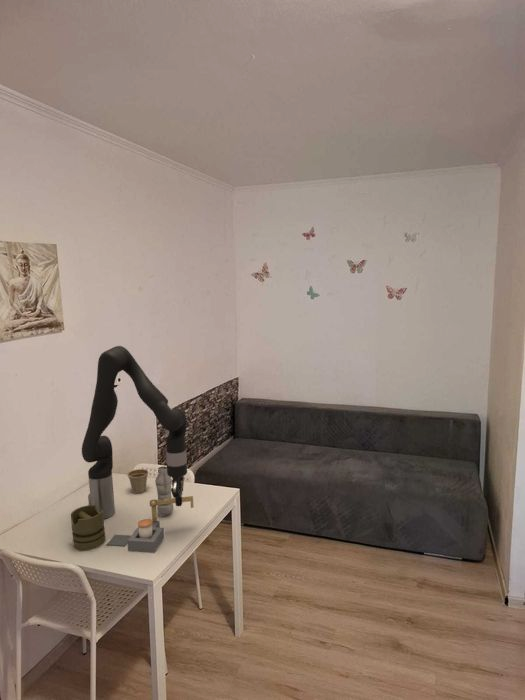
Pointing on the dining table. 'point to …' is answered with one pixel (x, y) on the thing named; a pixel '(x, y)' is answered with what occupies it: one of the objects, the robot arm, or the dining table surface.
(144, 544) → the socket block
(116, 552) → the dining table surface
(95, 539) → the piston
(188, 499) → the lever
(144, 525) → the plug
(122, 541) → the mat
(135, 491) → the flower pot
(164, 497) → the plastic bottle
